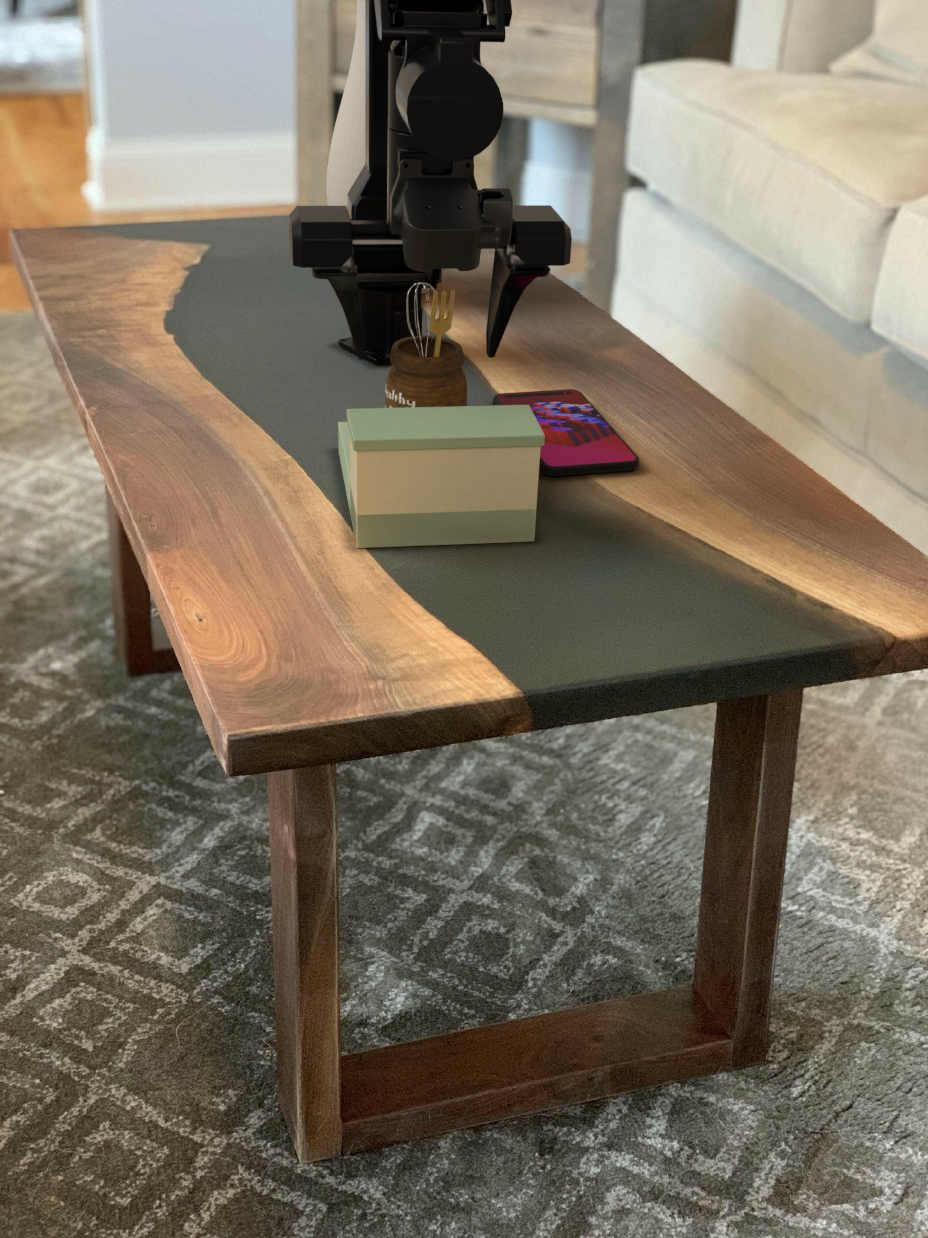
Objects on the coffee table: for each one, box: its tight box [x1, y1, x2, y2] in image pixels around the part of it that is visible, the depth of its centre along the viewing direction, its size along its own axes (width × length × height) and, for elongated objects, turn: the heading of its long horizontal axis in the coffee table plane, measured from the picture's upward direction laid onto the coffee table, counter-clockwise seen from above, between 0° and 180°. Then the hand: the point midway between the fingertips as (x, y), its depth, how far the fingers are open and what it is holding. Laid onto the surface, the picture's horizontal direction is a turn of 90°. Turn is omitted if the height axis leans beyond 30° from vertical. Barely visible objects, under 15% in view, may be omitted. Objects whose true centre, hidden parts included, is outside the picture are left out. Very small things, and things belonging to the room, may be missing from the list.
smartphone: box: [492, 388, 640, 477], centre depth 111 cm, size 8×1×15 cm
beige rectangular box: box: [337, 405, 545, 549], centre depth 99 cm, size 16×12×8 cm
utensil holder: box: [384, 283, 468, 408], centre depth 100 cm, size 6×6×12 cm
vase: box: [326, 0, 447, 295], centre depth 135 cm, size 14×14×30 cm
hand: (426, 357), depth 100 cm, fingers open, 9 cm apart
